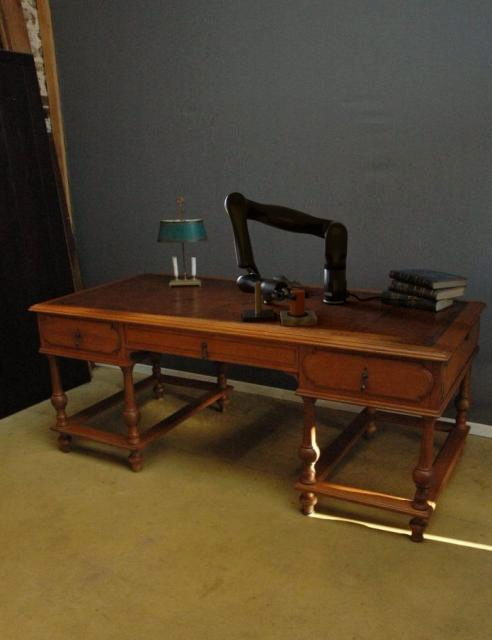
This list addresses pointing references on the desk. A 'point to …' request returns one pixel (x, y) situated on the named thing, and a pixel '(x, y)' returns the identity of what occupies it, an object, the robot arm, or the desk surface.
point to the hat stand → (258, 309)
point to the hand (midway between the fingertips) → (302, 296)
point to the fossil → (289, 283)
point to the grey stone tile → (298, 319)
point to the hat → (298, 304)
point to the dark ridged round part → (267, 300)
